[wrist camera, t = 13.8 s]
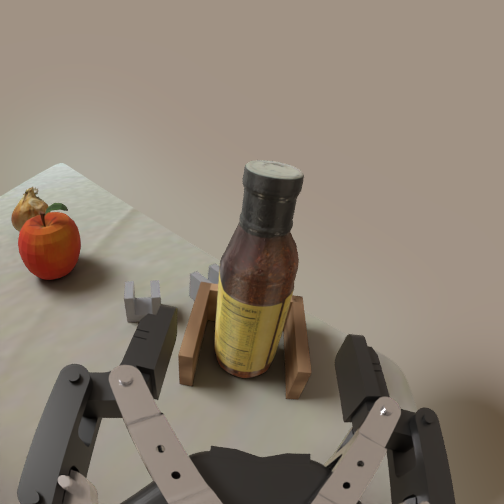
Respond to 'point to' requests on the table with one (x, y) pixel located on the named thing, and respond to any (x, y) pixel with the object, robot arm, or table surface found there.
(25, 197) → the onion
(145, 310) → the clip
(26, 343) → the table surface
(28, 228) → the fruit
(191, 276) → the clip
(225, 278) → the sauce bottle
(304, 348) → the frame
